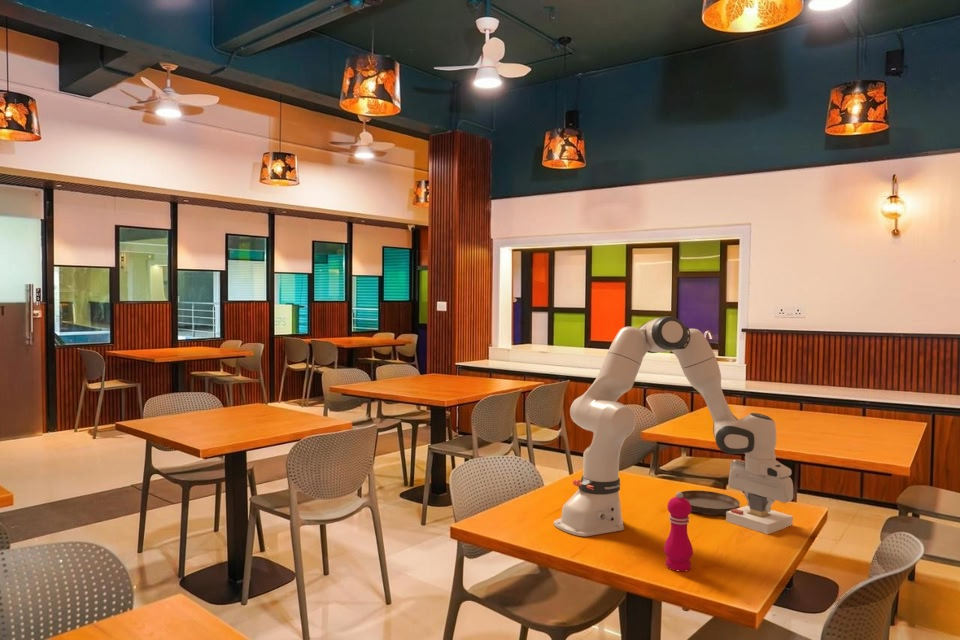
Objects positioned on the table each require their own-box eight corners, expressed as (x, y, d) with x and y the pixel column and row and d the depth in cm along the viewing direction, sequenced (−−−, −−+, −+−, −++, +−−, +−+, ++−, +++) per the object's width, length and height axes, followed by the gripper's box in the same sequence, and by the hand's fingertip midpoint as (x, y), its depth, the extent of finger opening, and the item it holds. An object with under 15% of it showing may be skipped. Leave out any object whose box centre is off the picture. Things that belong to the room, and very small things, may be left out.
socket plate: (767, 534, 195) (767, 522, 195) (726, 521, 206) (726, 509, 206) (792, 525, 203) (792, 513, 203) (751, 513, 214) (751, 501, 214)
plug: (761, 519, 202) (761, 497, 201) (749, 516, 205) (750, 494, 205) (768, 517, 204) (769, 495, 204) (756, 514, 207) (757, 492, 207)
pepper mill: (686, 561, 174) (688, 487, 173) (696, 572, 167) (698, 495, 166) (660, 561, 174) (661, 487, 173) (669, 572, 167) (670, 495, 166)
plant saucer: (701, 495, 234) (702, 486, 234) (752, 511, 217) (753, 501, 217) (662, 504, 223) (662, 495, 223) (712, 522, 206) (713, 512, 206)
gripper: (724, 459, 210) (723, 501, 211) (785, 474, 194) (784, 519, 194) (736, 457, 214) (735, 498, 215) (796, 471, 197) (795, 516, 198)
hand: (759, 508), depth 204 cm, fingers closed on plug, 4 cm apart
